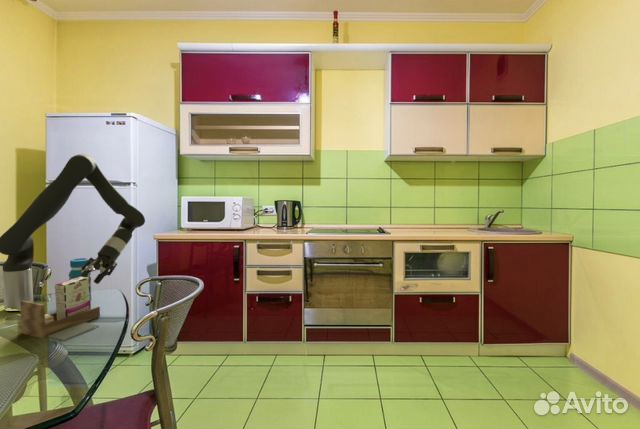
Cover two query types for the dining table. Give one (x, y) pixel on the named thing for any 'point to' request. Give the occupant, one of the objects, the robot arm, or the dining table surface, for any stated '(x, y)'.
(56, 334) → the slate mat
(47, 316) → the offcut stack
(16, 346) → the dining table surface
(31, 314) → the slot rack
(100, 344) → the dining table surface
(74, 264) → the beverage bottle
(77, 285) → the candy bar box
